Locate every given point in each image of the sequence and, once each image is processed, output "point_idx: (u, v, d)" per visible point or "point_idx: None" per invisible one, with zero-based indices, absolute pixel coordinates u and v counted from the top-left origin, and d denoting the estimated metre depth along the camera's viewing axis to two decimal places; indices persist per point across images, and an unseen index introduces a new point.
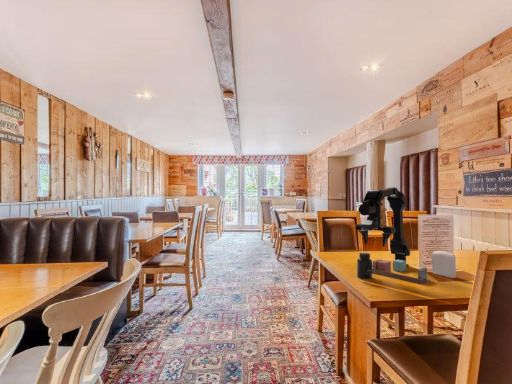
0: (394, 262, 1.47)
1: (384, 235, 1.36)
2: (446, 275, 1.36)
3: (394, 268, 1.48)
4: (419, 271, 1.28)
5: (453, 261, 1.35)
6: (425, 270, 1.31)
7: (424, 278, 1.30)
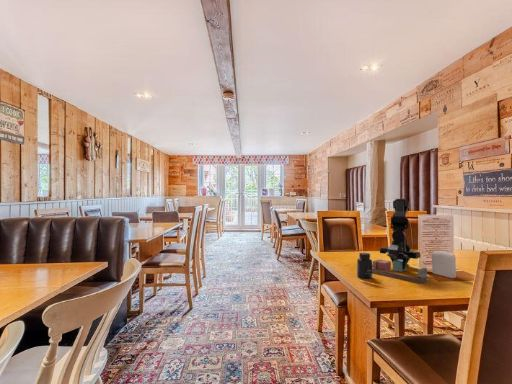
0: (394, 262, 1.47)
1: (404, 259, 1.44)
2: (446, 275, 1.36)
3: (394, 268, 1.48)
4: (419, 271, 1.28)
5: (453, 261, 1.35)
6: (425, 270, 1.31)
7: (424, 278, 1.30)
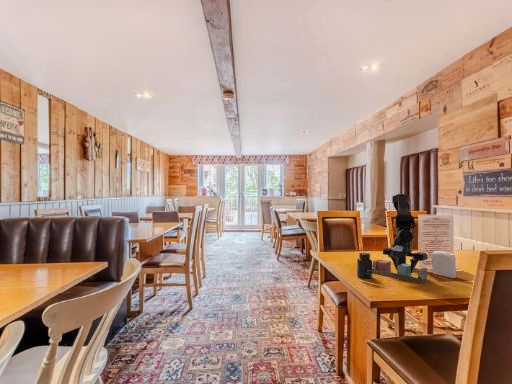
0: (399, 267, 1.35)
1: (412, 261, 1.31)
2: (446, 275, 1.36)
3: (399, 273, 1.35)
4: (419, 271, 1.28)
5: (453, 261, 1.35)
6: (425, 270, 1.31)
7: (424, 278, 1.30)
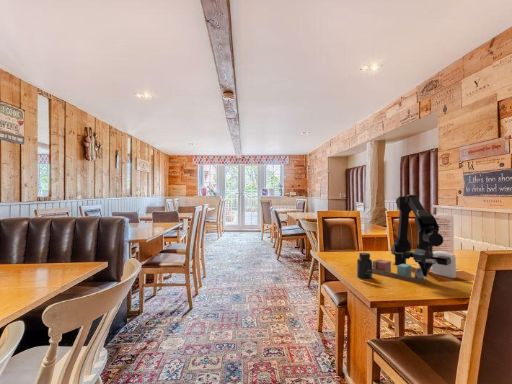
0: (399, 267, 1.35)
1: (427, 264, 1.27)
2: (446, 275, 1.36)
3: (399, 273, 1.35)
4: (416, 270, 1.29)
5: (453, 261, 1.35)
6: None
7: (421, 277, 1.31)
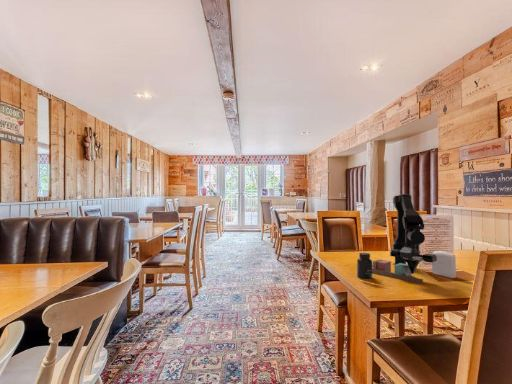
0: (396, 266, 1.36)
1: (414, 262, 1.31)
2: (446, 275, 1.36)
3: (396, 273, 1.36)
4: (404, 268, 1.33)
5: (453, 261, 1.35)
6: None
7: (409, 275, 1.35)
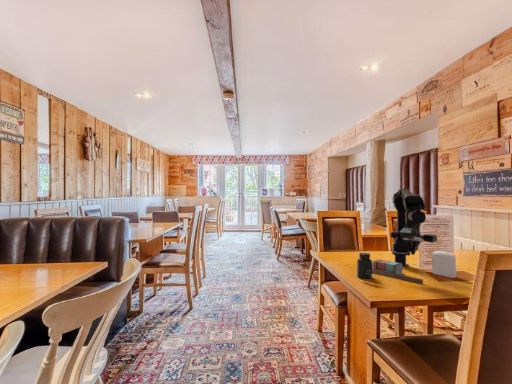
0: (387, 264, 1.40)
1: (414, 243, 1.31)
2: (446, 275, 1.36)
3: (387, 271, 1.40)
4: (394, 266, 1.37)
5: (453, 261, 1.35)
6: (400, 265, 1.40)
7: (399, 273, 1.39)
